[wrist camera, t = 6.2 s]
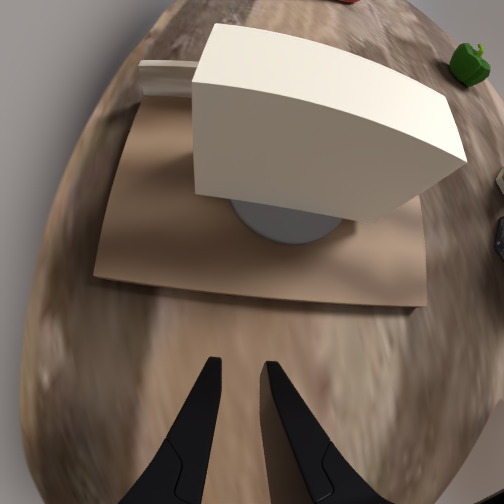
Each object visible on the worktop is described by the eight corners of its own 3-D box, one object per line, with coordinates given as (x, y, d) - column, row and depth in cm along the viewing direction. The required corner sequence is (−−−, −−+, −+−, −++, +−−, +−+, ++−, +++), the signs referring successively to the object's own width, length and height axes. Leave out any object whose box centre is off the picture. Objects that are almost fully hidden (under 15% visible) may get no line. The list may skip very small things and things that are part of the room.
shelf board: (416, 307, 24) (456, 302, 19) (99, 278, 20) (70, 265, 15) (401, 146, 28) (428, 120, 23) (148, 98, 25) (141, 59, 19)
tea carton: (365, 256, 22) (476, 204, 11) (190, 231, 21) (175, 128, 9) (361, 153, 25) (434, 72, 13) (212, 122, 23) (223, 5, 11)
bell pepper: (470, 97, 37) (499, 70, 27) (440, 67, 37) (466, 37, 27) (474, 85, 39) (499, 61, 29) (447, 58, 39) (470, 32, 30)
